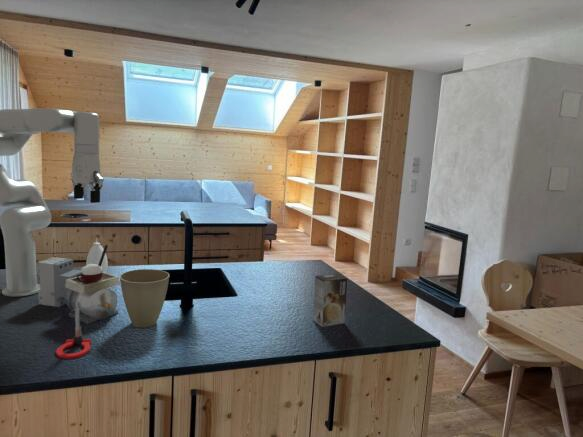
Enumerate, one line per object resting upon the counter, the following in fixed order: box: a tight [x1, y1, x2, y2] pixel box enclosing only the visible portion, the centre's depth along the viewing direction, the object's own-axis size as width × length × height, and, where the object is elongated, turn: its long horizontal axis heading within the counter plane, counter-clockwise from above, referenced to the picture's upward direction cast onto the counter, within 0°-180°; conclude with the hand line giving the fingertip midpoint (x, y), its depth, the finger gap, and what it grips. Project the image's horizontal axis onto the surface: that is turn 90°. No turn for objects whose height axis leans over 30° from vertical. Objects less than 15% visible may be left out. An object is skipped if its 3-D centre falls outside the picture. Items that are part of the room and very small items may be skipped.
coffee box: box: [312, 273, 348, 328], centre depth 148 cm, size 9×6×16 cm
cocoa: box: [77, 244, 108, 284], centre depth 142 cm, size 10×6×12 cm, turn 108°
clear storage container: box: [65, 272, 121, 325], centre depth 144 cm, size 16×13×13 cm
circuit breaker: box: [36, 256, 82, 308], centre depth 153 cm, size 8×14×15 cm, turn 78°
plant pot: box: [119, 268, 171, 329], centre depth 139 cm, size 15×15×16 cm
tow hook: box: [55, 302, 93, 360], centre depth 119 cm, size 8×13×9 cm
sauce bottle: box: [85, 236, 109, 273], centre depth 179 cm, size 8×8×18 cm
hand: (86, 200), depth 149 cm, fingers open, 9 cm apart
